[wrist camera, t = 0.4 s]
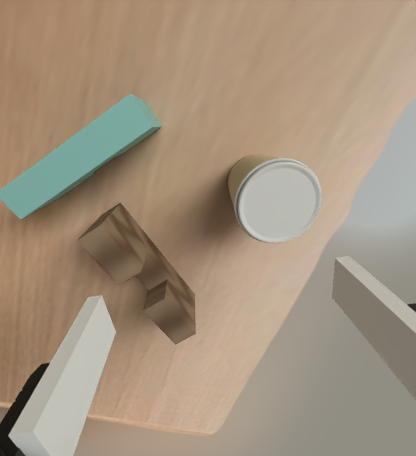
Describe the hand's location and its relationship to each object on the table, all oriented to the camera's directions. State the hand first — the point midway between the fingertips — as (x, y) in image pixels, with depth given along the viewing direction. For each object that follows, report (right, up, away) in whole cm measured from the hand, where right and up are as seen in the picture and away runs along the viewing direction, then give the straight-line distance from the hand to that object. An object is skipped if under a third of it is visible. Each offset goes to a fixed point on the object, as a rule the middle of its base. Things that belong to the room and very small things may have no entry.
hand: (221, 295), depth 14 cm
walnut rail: (-10, -1, +27) cm, 28 cm away
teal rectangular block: (-15, +14, +20) cm, 29 cm away
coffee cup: (+6, +11, +23) cm, 26 cm away
